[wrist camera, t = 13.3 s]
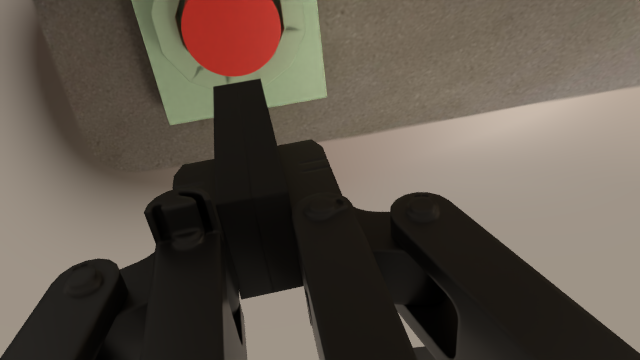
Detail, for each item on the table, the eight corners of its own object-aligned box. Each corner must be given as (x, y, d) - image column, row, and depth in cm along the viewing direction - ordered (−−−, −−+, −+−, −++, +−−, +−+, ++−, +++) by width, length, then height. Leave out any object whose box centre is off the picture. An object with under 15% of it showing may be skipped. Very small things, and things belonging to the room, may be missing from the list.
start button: (283, 58, 28) (287, 68, 27) (195, 72, 28) (194, 84, 26) (269, -36, 25) (272, -31, 24) (171, -22, 25) (169, -15, 23)
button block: (320, 84, 33) (333, 108, 30) (171, 111, 32) (167, 138, 29) (297, -123, 27) (310, -122, 23) (109, -98, 26) (94, -93, 22)
